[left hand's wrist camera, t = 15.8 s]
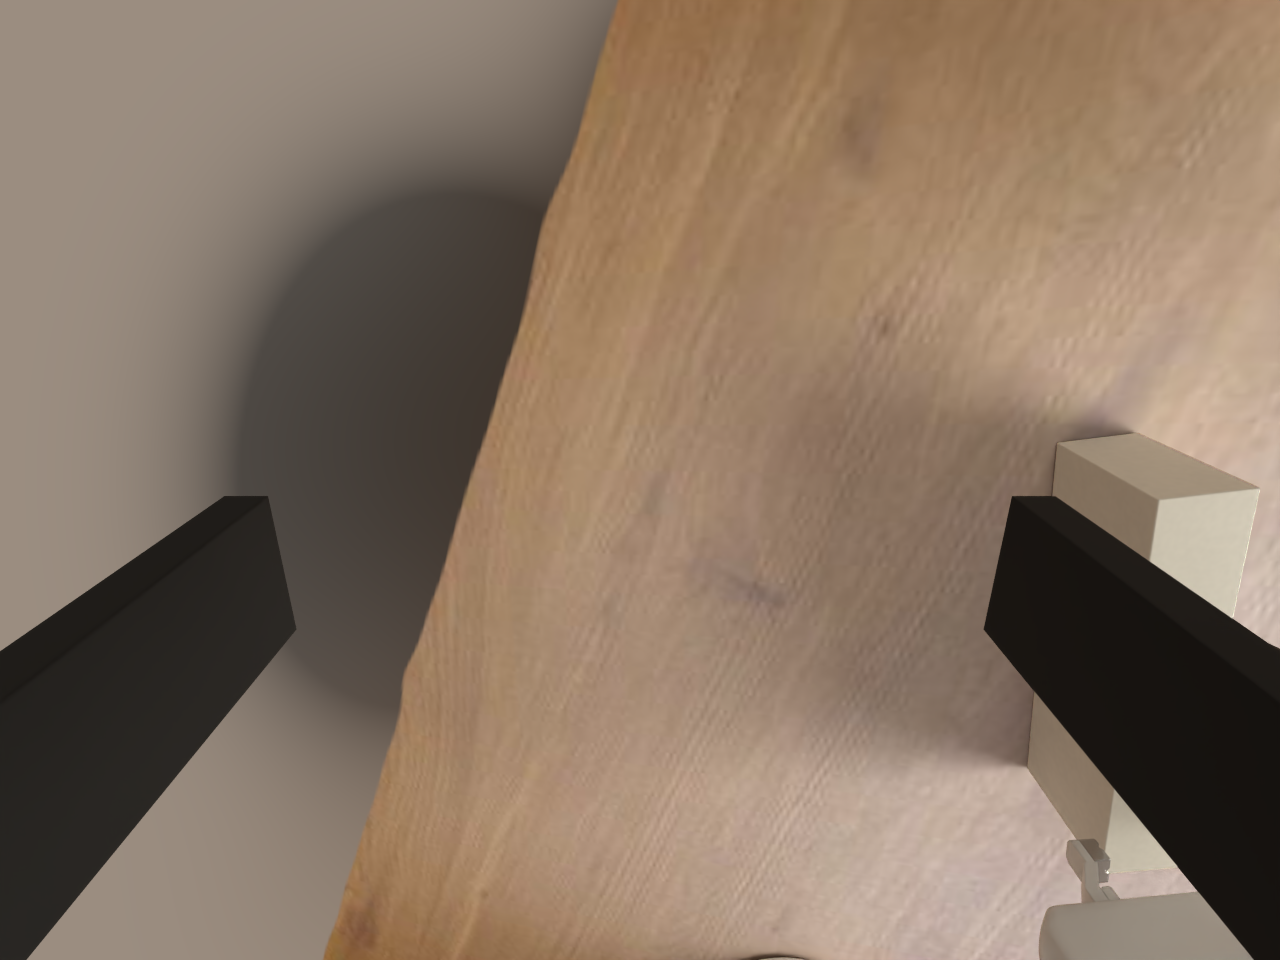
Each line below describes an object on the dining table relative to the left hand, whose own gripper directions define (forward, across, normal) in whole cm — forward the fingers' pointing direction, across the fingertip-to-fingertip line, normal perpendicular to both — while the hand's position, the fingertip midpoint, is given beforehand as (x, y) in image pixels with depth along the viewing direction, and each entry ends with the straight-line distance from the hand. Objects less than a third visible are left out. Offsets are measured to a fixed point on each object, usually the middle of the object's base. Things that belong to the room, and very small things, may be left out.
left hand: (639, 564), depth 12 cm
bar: (+30, +30, -20) cm, 48 cm away
